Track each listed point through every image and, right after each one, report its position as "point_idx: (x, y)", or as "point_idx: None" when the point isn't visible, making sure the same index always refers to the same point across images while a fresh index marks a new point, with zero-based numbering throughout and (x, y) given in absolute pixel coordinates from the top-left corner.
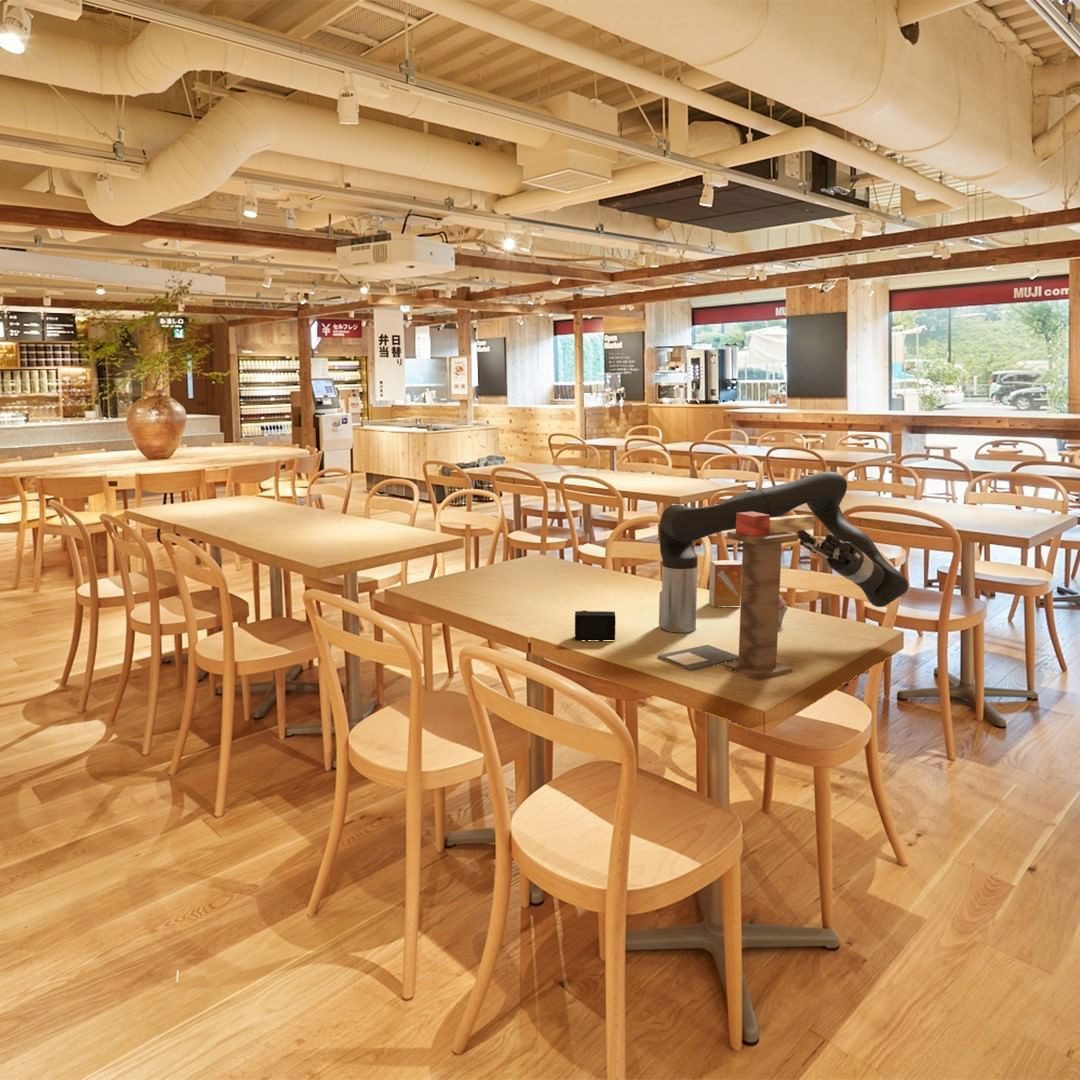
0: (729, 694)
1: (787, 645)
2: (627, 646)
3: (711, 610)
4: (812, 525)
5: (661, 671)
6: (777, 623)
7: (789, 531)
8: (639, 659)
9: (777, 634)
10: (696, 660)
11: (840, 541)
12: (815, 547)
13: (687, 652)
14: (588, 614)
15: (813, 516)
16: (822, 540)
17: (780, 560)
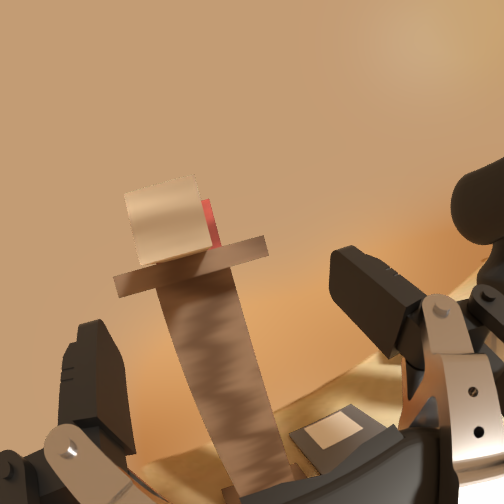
0: (193, 456)
1: None
2: (397, 377)
3: None
4: (138, 245)
5: (294, 413)
6: (227, 472)
7: (162, 262)
8: (344, 394)
9: (235, 488)
10: (321, 438)
11: (62, 433)
12: (405, 425)
13: (362, 427)
14: None
15: (126, 196)
16: (440, 412)
17: (173, 342)
